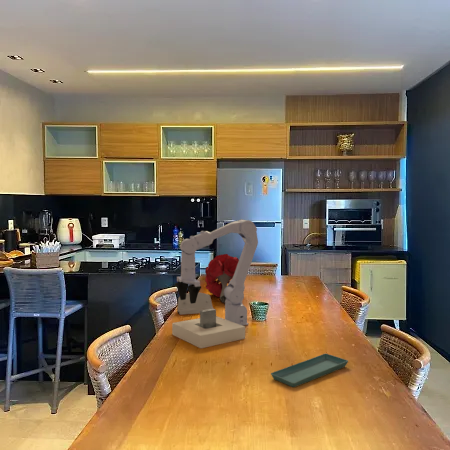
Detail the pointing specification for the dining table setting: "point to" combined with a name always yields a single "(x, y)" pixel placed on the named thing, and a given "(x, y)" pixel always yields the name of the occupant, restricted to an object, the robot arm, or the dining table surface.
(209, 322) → the tall grey block
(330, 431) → the dining table surface
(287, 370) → the rectangular tray
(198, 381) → the dining table surface
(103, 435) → the dining table surface
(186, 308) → the grey rounded block
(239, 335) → the well block
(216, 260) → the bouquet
